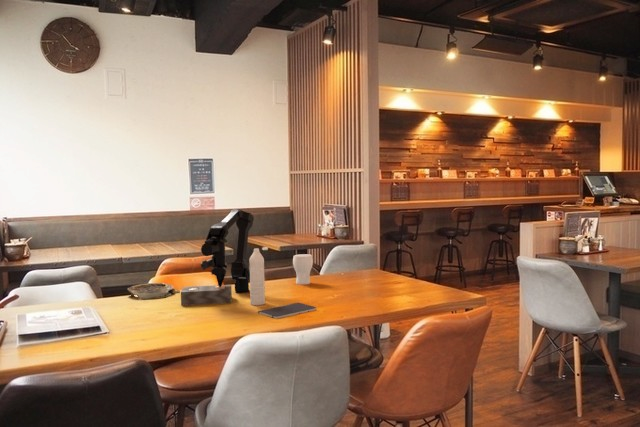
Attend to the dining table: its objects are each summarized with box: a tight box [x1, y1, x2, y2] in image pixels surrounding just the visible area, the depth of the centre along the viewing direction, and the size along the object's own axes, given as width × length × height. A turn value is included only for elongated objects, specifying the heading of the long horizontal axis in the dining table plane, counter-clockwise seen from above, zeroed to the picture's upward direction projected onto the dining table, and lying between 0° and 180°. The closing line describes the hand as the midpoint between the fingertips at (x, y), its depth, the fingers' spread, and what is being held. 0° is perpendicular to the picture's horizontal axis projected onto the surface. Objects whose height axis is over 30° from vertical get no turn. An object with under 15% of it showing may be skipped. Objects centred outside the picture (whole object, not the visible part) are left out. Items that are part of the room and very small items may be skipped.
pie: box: [127, 282, 180, 301], centre depth 264 cm, size 28×27×5 cm
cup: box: [292, 253, 314, 286], centre depth 283 cm, size 11×11×15 cm
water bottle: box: [248, 246, 269, 306], centre depth 238 cm, size 9×6×25 cm
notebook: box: [257, 302, 317, 320], centre depth 223 cm, size 13×2×21 cm
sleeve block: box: [180, 284, 233, 306], centre depth 245 cm, size 22×12×6 cm, turn 98°
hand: (220, 286), depth 246 cm, fingers closed, pressing on terracotta peg
